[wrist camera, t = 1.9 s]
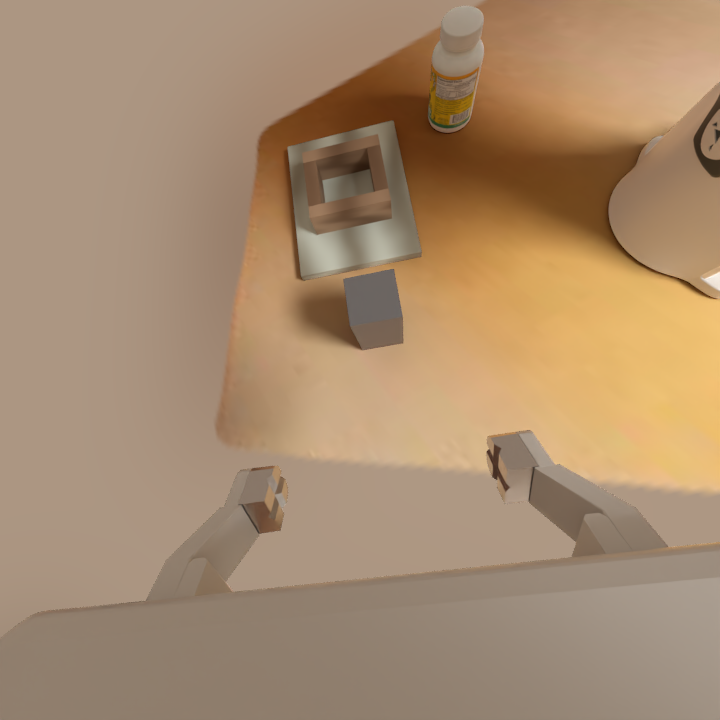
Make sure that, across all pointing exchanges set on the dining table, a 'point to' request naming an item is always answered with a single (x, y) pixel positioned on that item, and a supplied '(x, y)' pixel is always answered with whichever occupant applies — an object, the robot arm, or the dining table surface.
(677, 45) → the dining table surface
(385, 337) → the plug block
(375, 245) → the socket holder
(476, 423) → the dining table surface
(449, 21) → the supplement bottle
